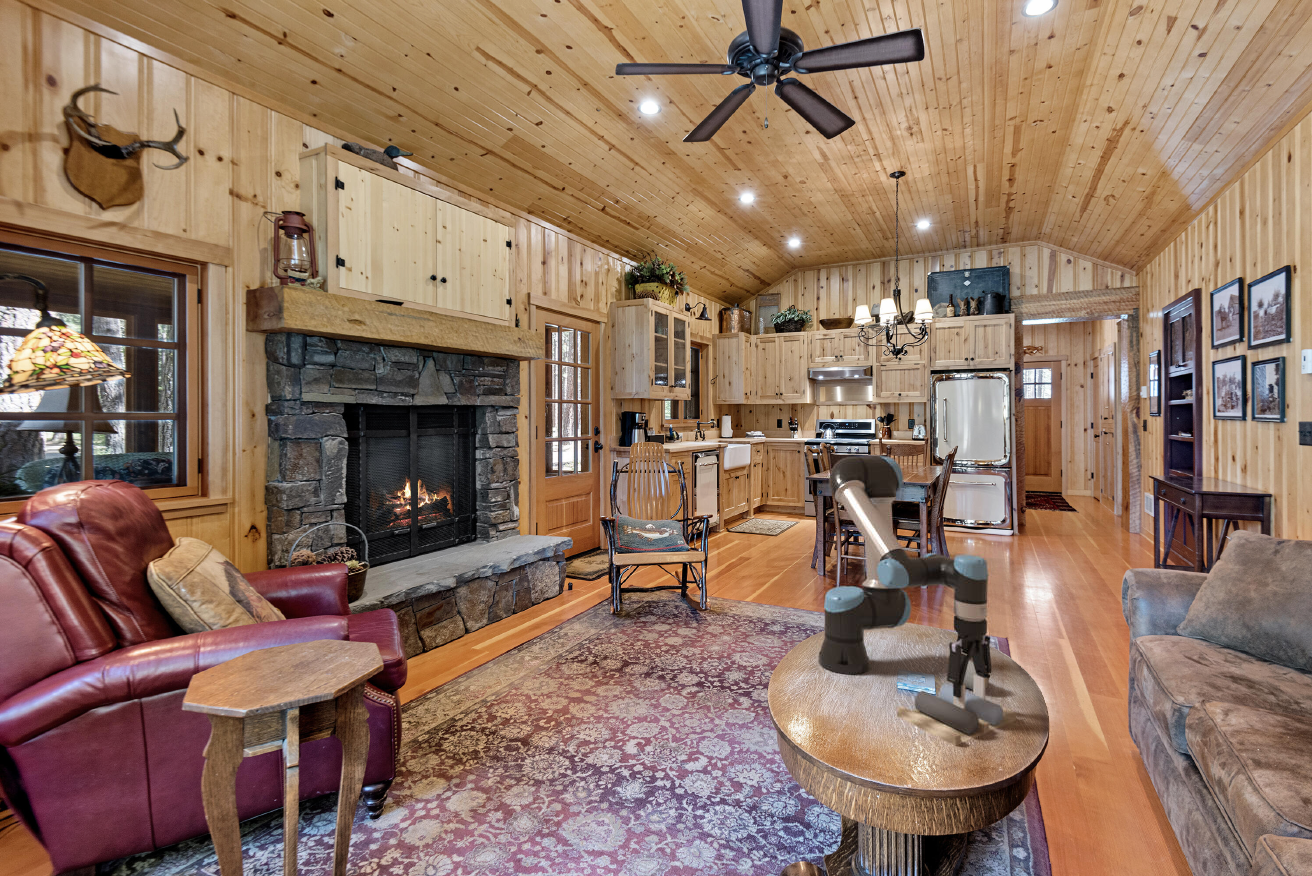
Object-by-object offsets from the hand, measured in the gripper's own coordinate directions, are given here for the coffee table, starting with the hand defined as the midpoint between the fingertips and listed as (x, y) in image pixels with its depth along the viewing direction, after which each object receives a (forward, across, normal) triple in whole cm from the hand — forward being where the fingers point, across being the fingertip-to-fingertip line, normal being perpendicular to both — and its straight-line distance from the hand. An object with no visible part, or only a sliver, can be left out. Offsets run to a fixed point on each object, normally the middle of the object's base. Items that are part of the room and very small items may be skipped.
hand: (969, 705), depth 153 cm
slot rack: (+3, -6, 0) cm, 6 cm away
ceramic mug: (+3, +17, +10) cm, 20 cm away
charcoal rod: (0, -12, 0) cm, 12 cm away
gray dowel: (+2, 0, 0) cm, 2 cm away
